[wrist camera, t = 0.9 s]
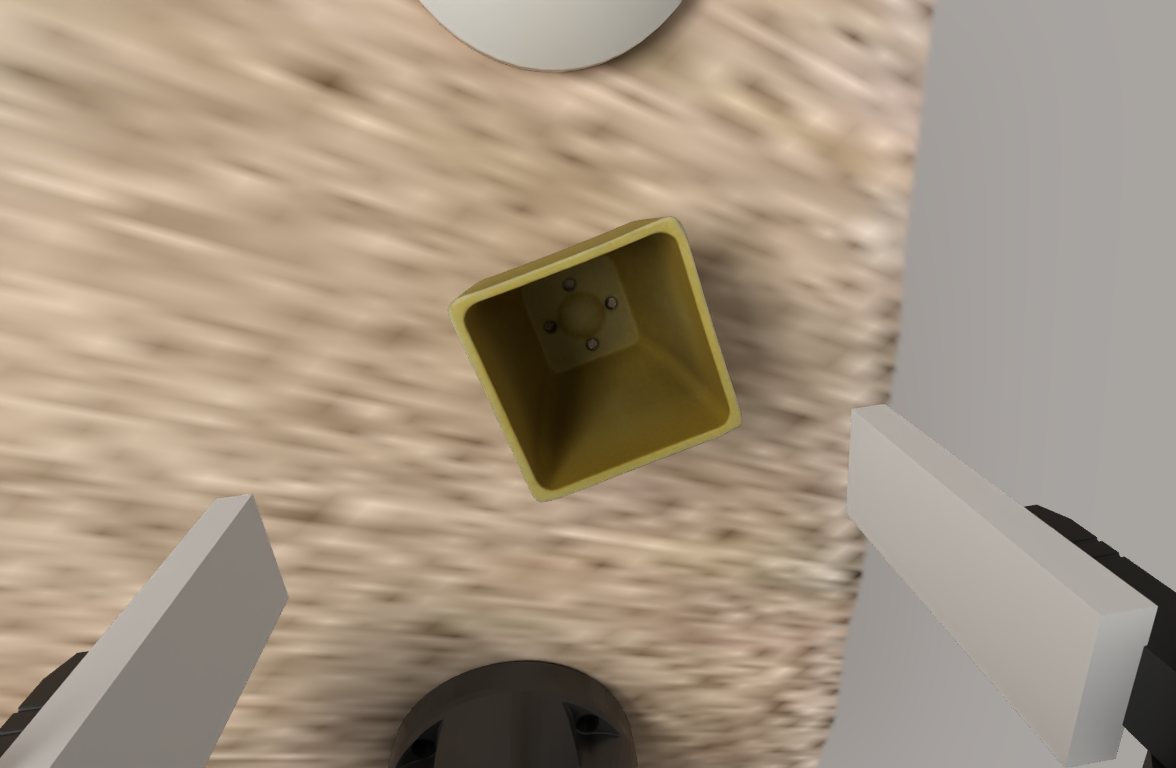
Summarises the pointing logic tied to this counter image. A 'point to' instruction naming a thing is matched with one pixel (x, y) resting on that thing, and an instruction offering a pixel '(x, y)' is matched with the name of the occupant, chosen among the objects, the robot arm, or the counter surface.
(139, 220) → the counter surface
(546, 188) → the counter surface
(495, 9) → the white flat disc
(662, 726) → the counter surface
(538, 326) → the flower pot
